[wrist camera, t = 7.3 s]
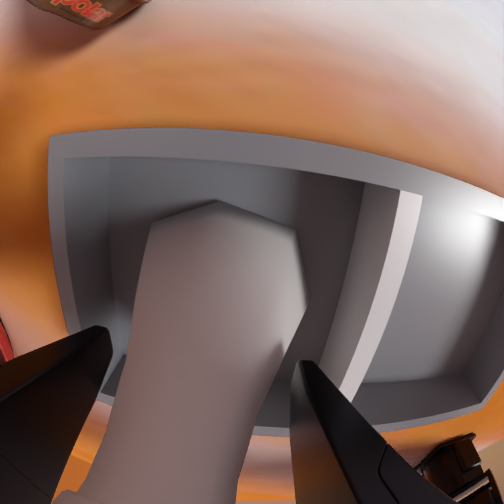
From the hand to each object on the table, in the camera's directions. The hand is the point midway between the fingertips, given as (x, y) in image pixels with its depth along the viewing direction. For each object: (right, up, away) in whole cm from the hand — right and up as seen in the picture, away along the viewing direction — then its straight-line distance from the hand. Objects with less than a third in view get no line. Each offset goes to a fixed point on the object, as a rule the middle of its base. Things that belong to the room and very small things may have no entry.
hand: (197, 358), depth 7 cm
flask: (0, +1, +4) cm, 5 cm away
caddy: (+6, +1, +5) cm, 8 cm away
